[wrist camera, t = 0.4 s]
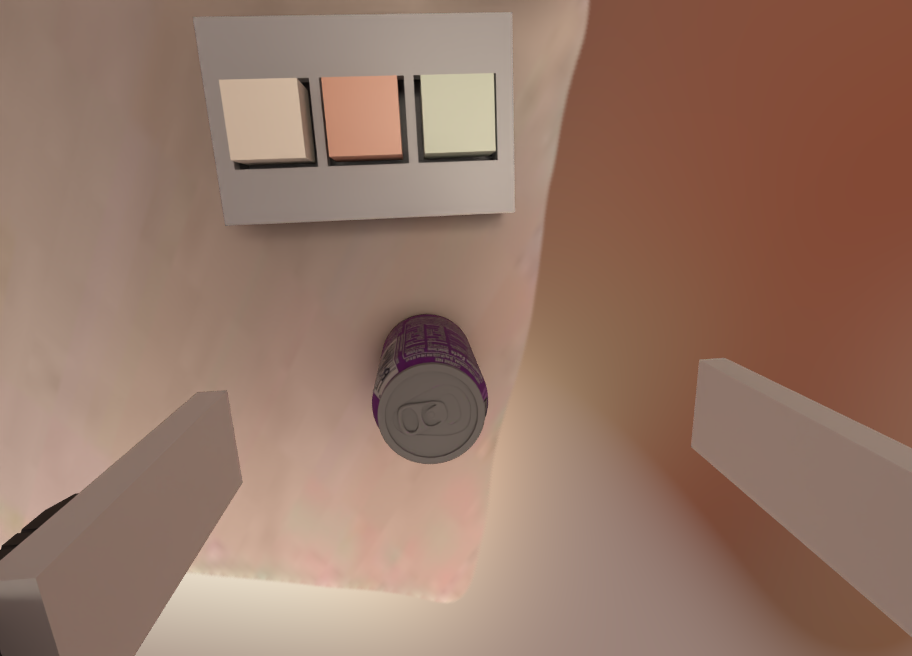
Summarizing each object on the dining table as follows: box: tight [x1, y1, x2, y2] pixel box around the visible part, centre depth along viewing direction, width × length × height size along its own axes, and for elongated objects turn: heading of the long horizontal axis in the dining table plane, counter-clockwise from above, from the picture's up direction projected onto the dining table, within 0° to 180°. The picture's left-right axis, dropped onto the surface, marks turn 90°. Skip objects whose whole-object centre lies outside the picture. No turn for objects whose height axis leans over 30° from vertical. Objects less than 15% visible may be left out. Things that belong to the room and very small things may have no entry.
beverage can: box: [372, 314, 488, 464], centre depth 33 cm, size 7×7×12 cm
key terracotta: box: [321, 75, 403, 162], centre depth 30 cm, size 4×4×3 cm
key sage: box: [420, 73, 496, 159], centre depth 30 cm, size 4×4×3 cm
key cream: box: [219, 78, 316, 165], centre depth 30 cm, size 4×4×3 cm
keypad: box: [193, 12, 515, 226], centre depth 32 cm, size 12×19×5 cm, turn 93°
